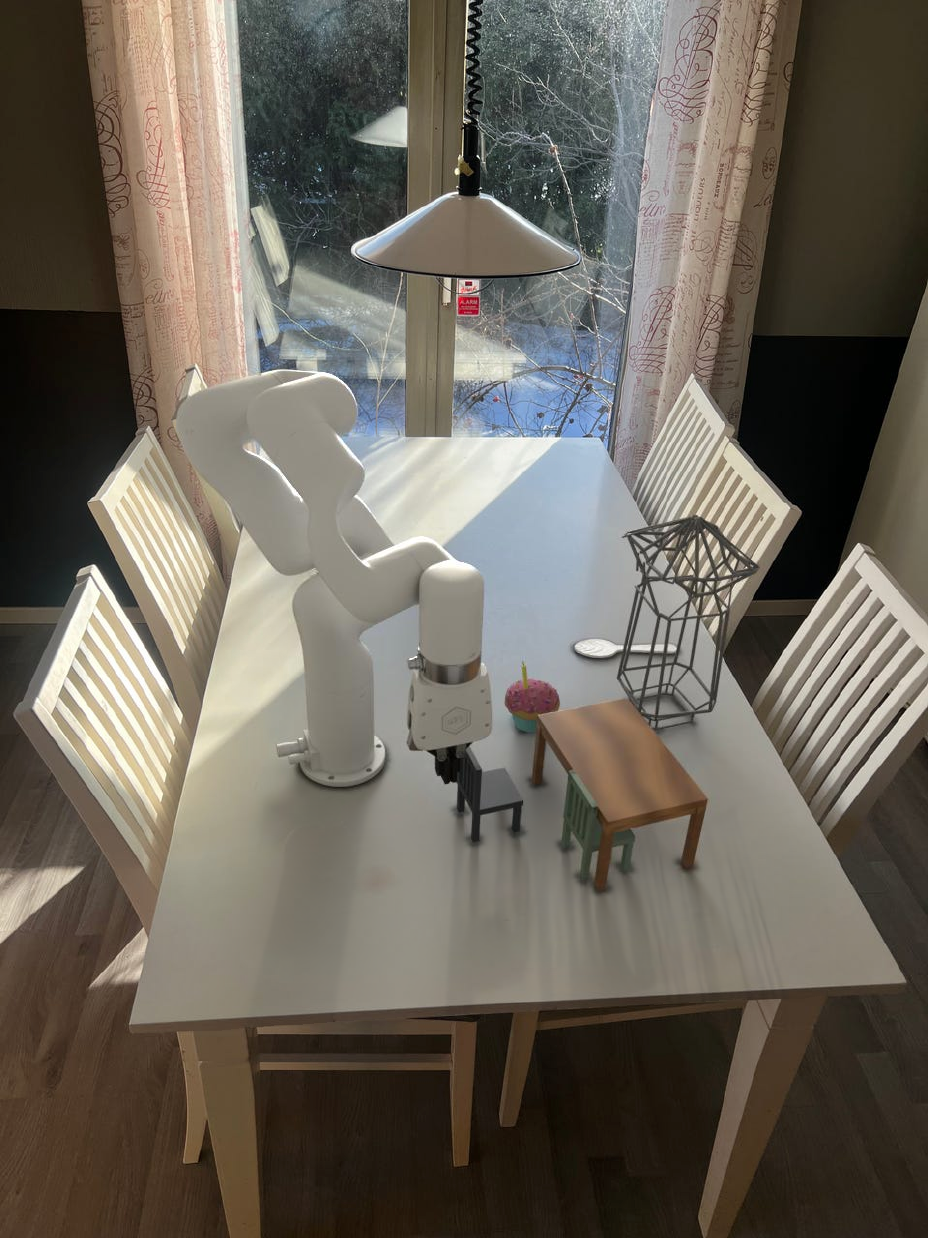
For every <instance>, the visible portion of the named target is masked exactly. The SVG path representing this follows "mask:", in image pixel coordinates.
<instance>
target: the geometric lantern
mask: <svg viewBox="0 0 928 1238" xmlns="http://www.w3.org/2000/svg"><path fill="white" fill-rule="evenodd" d="M671 526H672V527H671ZM666 527H671V528H669V529H667V530H665V531H652V530H657V529H661V528H666ZM705 530H706V531H707V532H708V533H709V534H710V535H711V536H712V537H713V538H714V539H716V540H717V541H718V545H719V550H720V553H721V557H722V560H721V561H720V562H719V563H718V564H717V565H716V564H715V561H714V558H713V555H712V552H711V549H710V546H709V542H708V540H707V537H706V534H705ZM633 536H634V537H633ZM646 536H660V537H658V538H657V539H656V540H654V541H653V540H651V539H649V538H647V537H646ZM669 536H670V537H669ZM635 537H636V538H638V539H640V540H642V541H643V542H645V543H647V544H648V545H647V546H645V547H643V545H641V544H640V543H639V542H638V541H637V540H636V539H635ZM668 537H669V538H668ZM700 537H701V540H702V544H703V546H704V548H705V552H706V554H707V559H708V561H709V563H710V567H711V569H712V570H710V572H709V573H707V574H706V575H705V576H704V577H700ZM621 538H622V539H624V538H627V540H628V543H629V546H630V548H631V551H632V553H633V555H634V557H635V560H636V564H635V571H636V572H640V573H641V574H642V575H641V580H640V582H639V583H638V584H635V585H634V588H635V593H634V598H633V602H632V606H631V611H630V615H629V620H628V625H627V629H626V634H625V638H624V643H623V645H624V647H623V652H621V657H620V661H619V665H618V671H617V675H616V680H617V681H618V682H619V684H620V686H621V687H622V689H623V691H624V692H625V694H626V696H627V698H628V699H629V701H630V702H631V703H632V704H633V706H634V707H635V708H636V709H637V711H638V712H639V713H640V714H641V716H642V717H643V718H644V719H647V720H648V722H647V723H648V724H649V726H650V727H651V728H652V729H653V731H659V730H663V729H669V728H674V727H679V726H683V725H689V724H692V723H694V718H695V715H700V714H708V713H712V712H713V711H714V708H715V707H716V704H717V699H718V694H719V693H718V691H719V686H720V685H719V684H720V678H721V670H722V667H723V666H722V665H723V659H724V653H725V646H726V640H727V632H728V627H729V620H730V619H729V618H730V612H731V609H730V608H731V601H732V592H733V586H734V585H736V584H738V583H740V582H742V581H743V580H745V579H747V578H750V577H752V576H753V575H755V574H757V573H758V571H759V570H760V569H761V566H760V565H759V564H757V563H756V562H755V561H754V560H753V559H752V558H750V557H749V556H748V555H747V554H746V553H744V551H742V550H741V549H740V548H738V547H737V546H736V545H735V544H734V543H733V542H731V540H729V539H728V538H727V537H726V536H725V534H724V533H723V532H722V530H721V529H720V528H719V525H717V524H715V523H713V522H710V521H709V520H706V519H705V518H704V517H702V516H699V515H698V514H694V513H693V514H692V516H686V517H682V518H678V519H677V518H676V519H673V520H669V521H665V522H661V523H656V524H653V525H649V526H644V527H640V528H636V529H631V530H628V531H626V532H625V533H624V534H622V536H621ZM667 538H668V539H667ZM676 538H677V541H676V544H675V547H672V546H671V547H669V546H668V545H670V544H671V543H672V542H673V540H675V539H676ZM665 539H667V540H665ZM664 540H665V542H664ZM692 541H694V566H693V565H692V562H691V561H690V560H689V558H688V556H687V554H686V553H687V551H688V549H689V546H690V543H692ZM663 542H664V543H663ZM667 546H668V547H667ZM653 547H655V548H657V549H656V550H655V551H654V552H653V553H652V554H651V555H650V556H649V555H648V553H647V552H648V550H650V549H652V548H653ZM683 549H684V550H683ZM725 549H726V550H727V551H728V554H727V555H726V551H725ZM637 550H639V552H638V551H637ZM662 551H663V552H674V554H673V555H672V557H671V559H670V561H669V563H668V564H667V566H666V568H665V570H664V572H663V573H662V572H661V571H660V570H659V569H658V567H656V566H654V564H655V562H656V560H657V559H658V556H659V555H660V553H661V552H662ZM680 553H682V556H681V559H680V560H679V564H678V565H677V568H676V571H675V573H674V576H668V574H669V573H670V571H671V570H672V567H673V565H674V564H675V562H676V560H677V558H678V557H679V555H680ZM640 555H642V556H643V558H644V559H645V561H642V560H641V557H640ZM731 556H733V558H734V559H735V560H736V563H735V565H734V568H732V566H731V564H730V563H729V560H730V558H731ZM684 559H685V560H686V561H687V563H688V565H689V567H690V568H691V570H692V571H693V574H694V575H693V574H687V575H678V574H679V571H680V570H681V566H682V564H683V562H684ZM740 562H741V563H742V564H743V565H744V566H745V568H741V569H738V567H739V564H740ZM646 565H647V567H648V568H647V569H646ZM723 565H724V566H725V567H726V568H727V570H728V572H730V574H728V575H722V576H719V573H718V570H719V569H720V568H721V567H722V566H723ZM651 571H653V572H654V573H655V574H656V575H650V572H651ZM712 575H713V576H714V577H711V576H712ZM734 578H735V579H734ZM671 580H672V581H671ZM725 580H730V582H728V583H725V584H724V585H721V586H719V587H718V588H717V586H718V582H720V581H725ZM652 582H664V583H667V584H670V585H672V586H673V585H674V584H675V585H677V586H678V587H680V588H682V589H683V590H685V591H686V592H688V597H687V600H686V601H685V602H684V603H683V604H681V606H679V607H678V608H677V609H675V611H673V612H672V613H671V614H670V615H668V616H667V615H666V614H664V613H662V612H660V610H659V608H658V607H659V606H658V604H657V601H656V598H655V593H654V591H653V588H652V586H651V583H652ZM685 582H691V583H690V587H689V586H687V585H686V584H685ZM699 582H700V583H702V584H701V591H700V592H699V593H698V589H699V588H698V587H699ZM708 582H709V583H711V582H713V588H712V587H711V586H710V584H709V583H708ZM706 587H707V588H708V590H707V591H706ZM728 588H729V593H728V600H727V601H728V602H727V603H726V602H725V601H724V600H723V599H722V598H721V596H719V594H718V593H720V592H722V591H724V590H725V589H728ZM647 589H648V593H649V596H650V599H651V602H652V604H651V602H650V601H649V600H648V599H647V597H646V596H645V593H646V590H647ZM639 595H640V596H639ZM712 595H713V598H714V600H715V603H716V607H717V610H718V613H709V614H702V611H703V605H704V598H705V597H708V596H712ZM638 598H639V599H638ZM694 598H695V599H697V598H699V601H698V608H697V615H690V616H688V615H689V611H690V607H691V603H692V600H693V599H694ZM643 602H645V603H646V604H647V606H648V607H649V608H650V610H651V611H652V612H653V614H654V615H655V616H656V621H655V625H654V631H653V635H652V641H651V644H652V645H651V644H650V645H651V649H650V653H648V660H647V664H645V665H637V666H630V667H627V666H628V662H629V658H630V654H631V652H630V650H631V646H632V645H633V641H634V638H635V633H636V630H637V625H638V621H639V618H640V613H641V610H642V605H643ZM637 603H638V604H637ZM721 604H722V605H723V606H724V608H725V609H724V610H723V608H722V605H721ZM684 607H685V610H684V615H683V616H682V617H673V616H675V615H676V614H677V613H678V612H679V611H680V610H681V609H682V608H684ZM672 617H673V618H672ZM712 617H719V618H718V625H717V634H716V635H717V636H716V640H715V641H716V642H715V651H714V658H713V667H712V676H711V683H710V684H711V685H710V689H708V687H707V686H706V684H705V683H704V682H703V681H702V679H701V678H700V676H699V675H698V673H696V671H695V670H694V668H693V667H694V661H695V654H696V648H697V641H698V636H699V629H700V623H701V619H702V618H703V619H704V618H712ZM661 619H664V620H665V621H667V624H666V630H665V638H664V643H663V644H664V651H663V653H662V659H661V662H660V663H653V664H652V662H653V657H654V654H655V653H654V648H655V644H657V638H658V633H659V629H660V623H661ZM694 619H695V620H696V621H695V626H694V627H695V628H694V633H693V640H692V648H691V653H690V660H689V665H687V664H684V663H682V662H679V661H678V658H679V654H680V650H681V645H682V642H683V639H684V638H683V637H684V633H685V628H686V625H687V620H694ZM675 621H682V624H681V628H680V632H679V637H678V641H677V646H676V648H677V649H676V653H674V657H673V661H670V662H667V655H668V653H667V648H668V644H669V641H670V634H671V627H672V622H675ZM722 629H723V631H722ZM627 645H628V648H627ZM626 649H627V652H626ZM669 666H671V667H670V672H669V677H668V681H667V682H664V676H665V669H666V667H669ZM675 666H678V667H681V668H683V669H685V670H684V672H683V673H682V674H681V675H680V676H679V677H678V679H677V680H676V681H675V682H674V684H673V683H671V682H672V677H673V672H674V667H675ZM653 668H660V674H659V680H658V684H655V685H649V686H647V684H648V681H649V676H650V671H651V669H653ZM637 670H645V673H644V677H643V682H642V687H640V688H636V689H633V687H632V685H631V682H630V680H629V678H628V676H627V674H626V672H629V671H631V672H632V671H637ZM689 671H690V673H691V674H692V675H693V677H694V679H696V681H697V682H698V683H699V685H700V686H701V688H703V691H704V692H705V693H706V694H707V696H708V697H709V699H708V701H707V702H705V703H702V704H700V705H699V706H697V707H695V706H694V704H693V703H692V702H691V701H690V700H689V699H688V698H687V696H685V694H684V693H682V691H681V690H680V689H679V688H678V687H677V685H678V684H679V682H681V680H682V679H683V678H684V677H685V675H686V674H688V672H689ZM622 676H623V677H624V680H625V682H626V684H627V685H626V684H625V682H624V681H623V679H622ZM669 686H670V687H672V689H671V692H668V690H669ZM663 687H665V690H664V691H663ZM656 688H657V693H655V694H650V695H646V694H645V693H646V690H651V689H656ZM662 691H663V692H662ZM675 691H676V692H677V693H678V694H679V695H680V696H681V697H682V698H683V699H684V700H685V702H686V703H687V704H688V705H689V706H690V708H692V709H693V710H688V708H687V707H686V706H685V705H684V704H683V703H682V702H681V701H680V699H678V697H677V696H676V695H675ZM636 692H637V693H638V692H641V693H640V697H636V696H635V695H634V694H635V693H636ZM662 696H670V697H673V699H674V700H675V701H676V703H678V705H680V707H681V708H682V709H683V710H684V711H679V712H671V713H670V712H669V713H662V714H659V713H660V705H661V697H662ZM651 698H656V703H655V711H654V712H655V713H651V712H647V711H646V709H645V708H644V706H643V704H644V701H645V699H651ZM707 705H708V708H706V709H701V708H704V707H705V706H707ZM686 716H689V717H690V720H686V721H682V722H677V723H671V724H667V725H662V726H659V722H660V721H666V720H670V719H675V718H680V717H681V718H682V717H686ZM652 722H655V724H654V727H652V726H651V725H652ZM658 726H659V727H658Z"/></svg>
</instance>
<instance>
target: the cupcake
mask: <svg viewBox="0 0 928 1238" xmlns="http://www.w3.org/2000/svg"><path fill="white" fill-rule="evenodd" d="M521 664H522V665H521V673H522V674H521V675H522V679H519V680H518V681H516V682H513V683H512V684H511V685H510V687H508V688H507V690H506V692H505V695H504V707H506V708H507V710H508V712H509V713H510V714H511V715H512V719H513V722H514V725H515V726H516V728H517V729H519V730H520V731H523V732H524V733H525V732H526V733H536V727H537V716H538V715H541V714H546V713H551V712H557V711H559V710H560V707H561V699H560V696H559V694H558V691H557V689H556V688H555V687H553V686H552V685H551V684H550V683H549V682H546V681H543V680H540V679H535V678H528V674H527V673H528V672H527V665H526V664H525V662H524V661H523V660H522V661H521Z"/></svg>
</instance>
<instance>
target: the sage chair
mask: <svg viewBox="0 0 928 1238" xmlns="http://www.w3.org/2000/svg"><path fill="white" fill-rule="evenodd" d="M565 789H566V790H565V797H564V798H565V799H564V807H563V814H562V818H563V823H562V832H561V841H560V845H561V846H562V848H563V849H565V848H569V847H570V846H571V845H570V844H571V838H572V837H571V836H572V835H573V836H574V838H575V840H577V842H578V844H579V845H580V847H581V849H582V853H581V854H582V855H581V863H580V869H579V877H580V878H581V880H582V881H584V880H588V879H589V877H590V870H591V863H592V856H593V853H597V852H599V845H600V839H601V832H602V826H601V825H600V823H599V822H598V820H597V819H596V815H597V809H598V805H597V804H596V802H595V801H594V799H593V798H592V796H591V795H590V793H589V792H588V790H587V789H586V787H585V786H584V784H583V783H582V781H581V780H580V778H579V777H578V775H577V774H576V772H575V771H574V770H571V771H569V772H568V774H567V781H566V788H565ZM636 838H637V836H636V834H635V833H634V832H633V830H632V829H628V830H624V831H619V832H615V833H614V839H613V845H612V849H613V848H616V847H620V846H623V848H622V853H621V859H620V867H621V869H622V870H627V869H630V865H631V861H632V854H633V848H634V843H636Z"/></svg>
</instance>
